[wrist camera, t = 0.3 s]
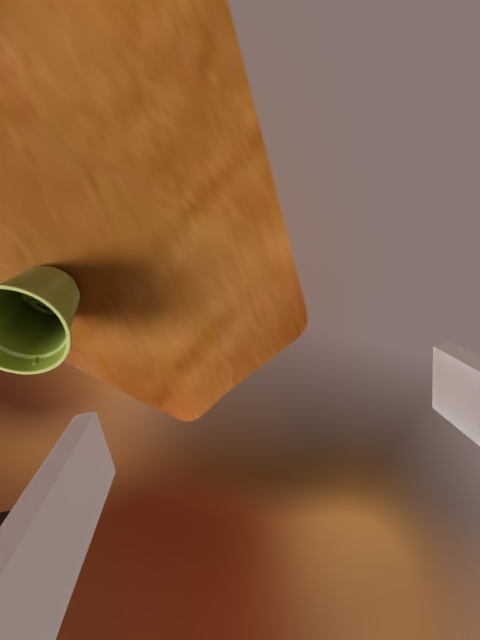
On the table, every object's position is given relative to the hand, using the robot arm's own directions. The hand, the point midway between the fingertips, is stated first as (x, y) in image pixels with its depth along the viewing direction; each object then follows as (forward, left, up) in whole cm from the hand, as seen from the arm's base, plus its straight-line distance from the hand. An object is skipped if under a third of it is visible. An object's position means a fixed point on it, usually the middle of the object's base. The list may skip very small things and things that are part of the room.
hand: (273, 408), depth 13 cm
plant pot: (+17, -12, -26) cm, 33 cm away
